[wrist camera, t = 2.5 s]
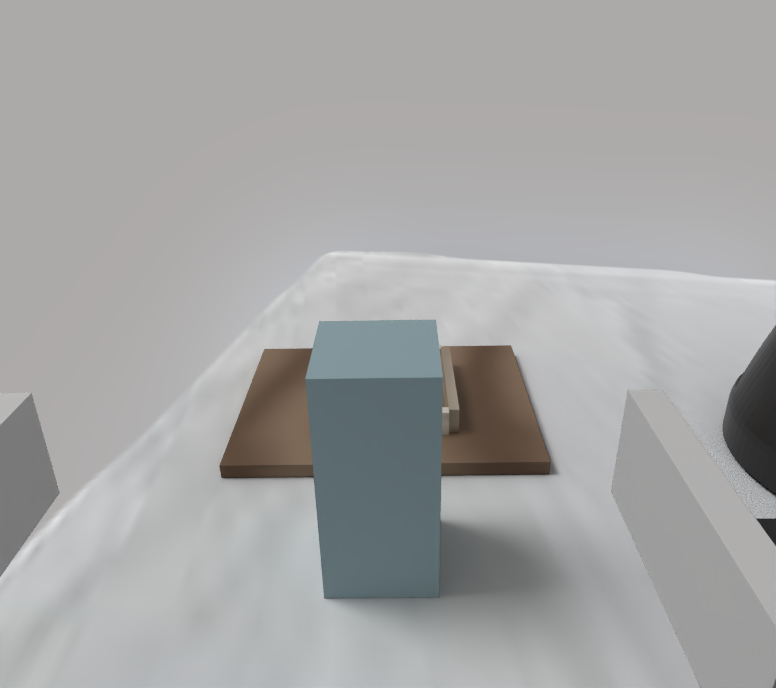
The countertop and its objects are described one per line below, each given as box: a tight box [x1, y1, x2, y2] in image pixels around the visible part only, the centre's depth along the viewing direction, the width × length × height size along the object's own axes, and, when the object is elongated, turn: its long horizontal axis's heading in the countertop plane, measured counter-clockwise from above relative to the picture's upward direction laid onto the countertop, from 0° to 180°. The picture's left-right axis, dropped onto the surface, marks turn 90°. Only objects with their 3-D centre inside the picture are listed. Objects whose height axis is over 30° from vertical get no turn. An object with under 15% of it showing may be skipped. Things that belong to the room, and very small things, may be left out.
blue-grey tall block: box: [305, 320, 443, 598], centre depth 29 cm, size 5×5×11 cm
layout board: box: [220, 345, 550, 477], centre depth 43 cm, size 18×14×2 cm
